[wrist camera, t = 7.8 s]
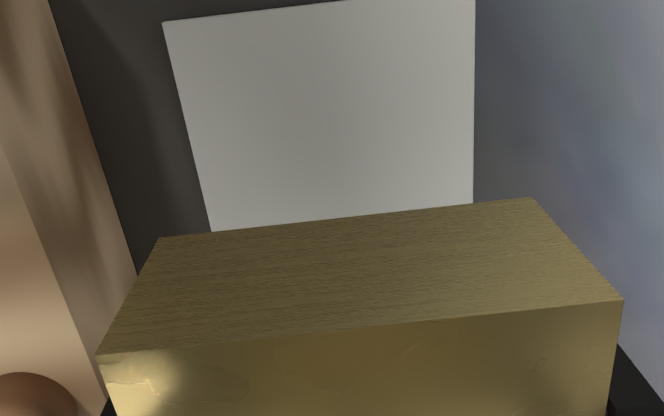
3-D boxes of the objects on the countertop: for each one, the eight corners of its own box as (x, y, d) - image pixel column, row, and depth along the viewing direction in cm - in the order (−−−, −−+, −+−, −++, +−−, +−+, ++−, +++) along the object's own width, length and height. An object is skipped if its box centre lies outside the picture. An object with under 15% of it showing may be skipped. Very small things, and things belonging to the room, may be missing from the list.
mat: (164, 21, 17) (161, 23, 17) (472, -16, 17) (475, -15, 16) (234, 316, 22) (233, 322, 22) (468, 291, 22) (471, 296, 22)
